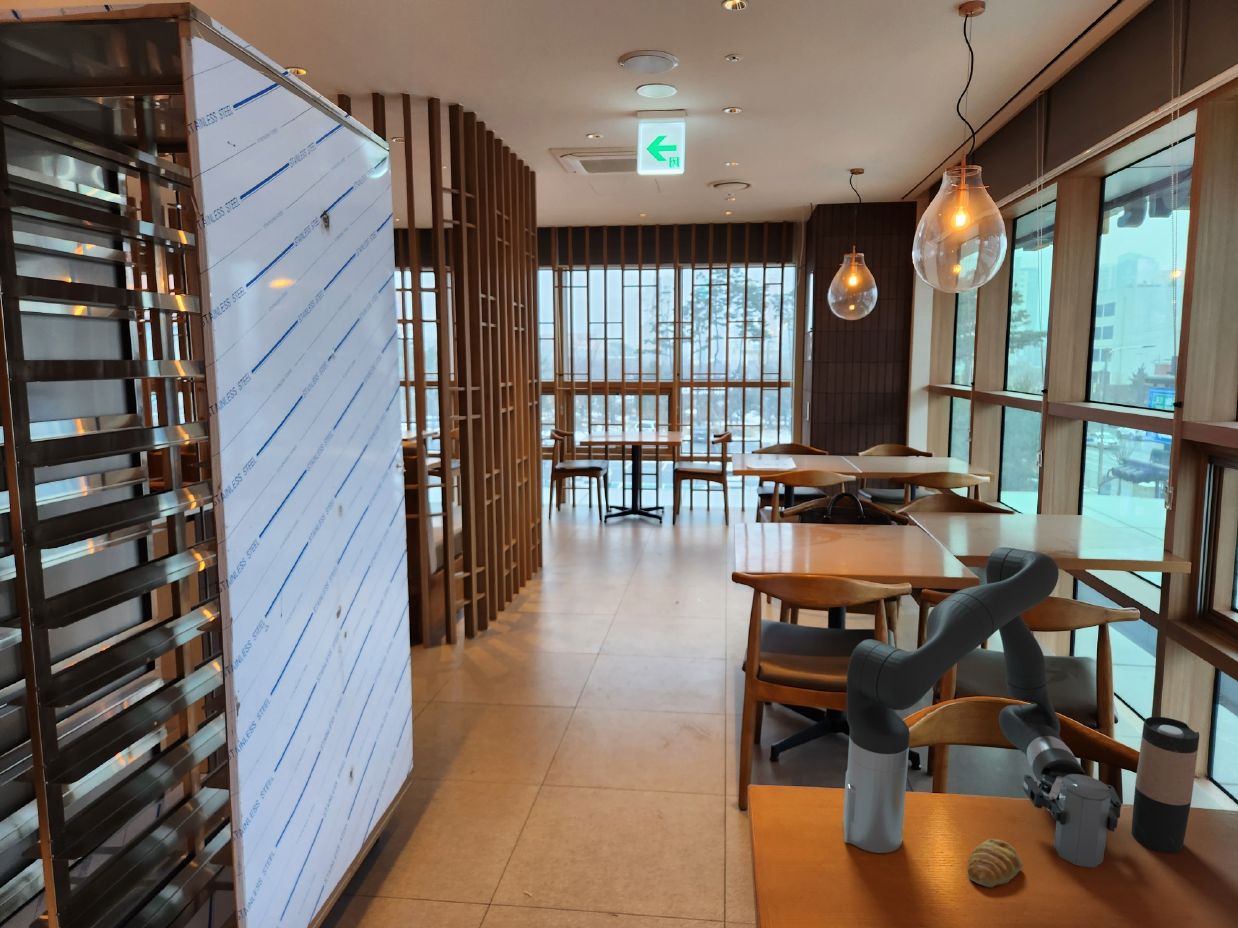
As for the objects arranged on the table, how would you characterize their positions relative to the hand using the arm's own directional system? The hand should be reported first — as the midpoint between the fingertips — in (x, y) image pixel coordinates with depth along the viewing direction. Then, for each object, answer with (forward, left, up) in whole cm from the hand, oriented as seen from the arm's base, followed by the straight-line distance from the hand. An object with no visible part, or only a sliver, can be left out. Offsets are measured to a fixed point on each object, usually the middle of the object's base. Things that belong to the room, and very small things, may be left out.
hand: (1087, 822), depth 125 cm
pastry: (-14, -5, -7) cm, 17 cm away
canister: (0, +2, -7) cm, 7 cm away
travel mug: (+14, +9, -7) cm, 18 cm away
